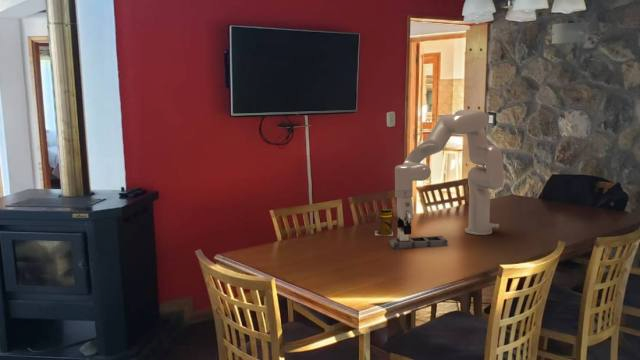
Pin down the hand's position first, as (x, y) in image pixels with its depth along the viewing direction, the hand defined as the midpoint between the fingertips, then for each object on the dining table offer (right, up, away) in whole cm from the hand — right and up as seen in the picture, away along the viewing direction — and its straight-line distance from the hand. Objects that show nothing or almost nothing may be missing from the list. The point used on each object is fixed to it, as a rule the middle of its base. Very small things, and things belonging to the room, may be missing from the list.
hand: (404, 231), depth 249 cm
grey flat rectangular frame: (+6, -6, +2) cm, 9 cm away
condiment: (-7, -3, +22) cm, 23 cm away
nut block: (0, -7, +1) cm, 7 cm away
